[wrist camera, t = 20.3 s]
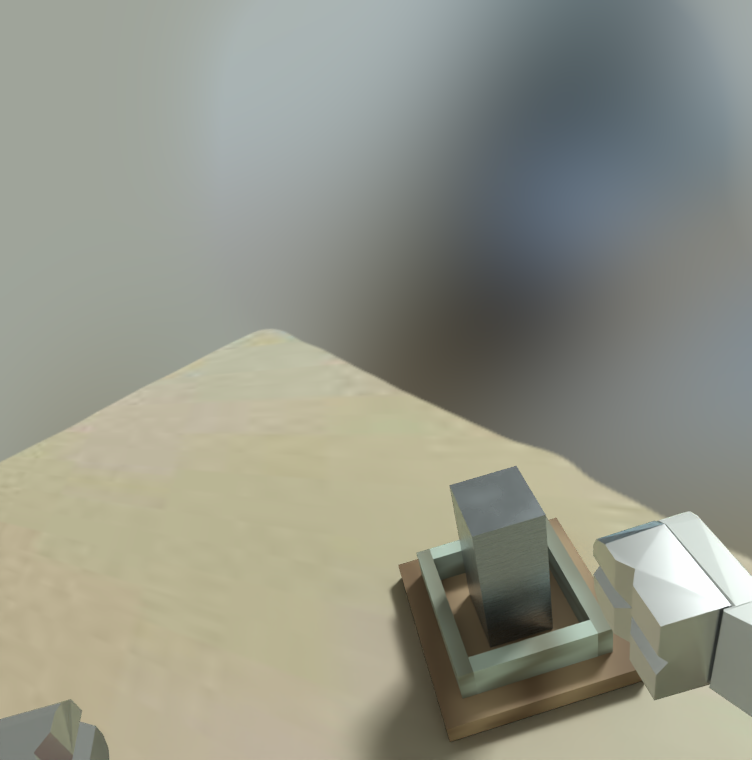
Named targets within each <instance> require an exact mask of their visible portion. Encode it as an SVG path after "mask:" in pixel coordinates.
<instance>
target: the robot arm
mask: <svg viewBox="0 0 752 760" xmlns="http://www.w3.org/2000/svg"><path fill="white" fill-rule="evenodd" d="M593 556H594V557H595V559H596V560H597V562H598V564H599V565H600V566H599V568H598V569H597V570H596V572H595V573H594V589H595V592H596V596H597V599H598V603H599V606H600V608H601V610H602V612H603V615H604V617H605V619H606V621H607V622H608V624H609V626H610V628H611V629H612V631H613V633H614V634H616V635H618V636H619V637H621V638H623V639H625V640H626V641H628V642H630V658H629V660H630V661H631V663H632V665H633V666H634V668H635V670H636V671H637V673H638V674H639V676H640V678H641V679H642V681H643V683H644V684H645V686H646V688H647V689H648V691H649V693H650V694H651V696H652V698H653V699H654V700H657V699H661V698H664V697H668V696H671V695H675V694H678V693H682V692H685V691H689V690H692V689H696V688H699V687H702V686H706V685H709V684H710V689H712V690H713V691H715V692H716V693H718V694H719V695H721V696H722V697H724V698H725V699H726V700H728V701H729V702H731V703H732V704H734V705H735V706H737V707H738V708H740V709H741V710H742V711H744V712H745V713H747V714H748V715H750V716H751V717H752V576H751V575H750V573H749V572H748V571H747V570H746V569H745V568H744V567H743V566H742V565H741V563H740V562H739V561H738V560H737V559H736V558H735V557H734V556H733V555H732V554H731V552H730V551H729V550H728V549H727V548H726V547H725V546H724V545H723V544H722V542H721V541H720V540H719V539H718V538H717V537H716V536H715V535H714V534H713V533H712V531H711V530H710V529H709V528H708V527H707V526H706V525H705V524H704V523H703V521H702V520H701V519H700V518H699V517H698V516H697V515H695V514H693V513H691V512H684V513H680V514H677V515H674V516H671V517H668V518H665V519H662V520H659V521H652V522H649V523H646V524H642V525H639V526H636V527H633V528H630V529H627V530H624V531H621V532H617V533H614V534H611V535H608V536H605V537H602V538H599V539H596V541H595V543H594V545H593ZM81 713H82V710H81V709H80V708H79V707H78V706H77V705H76V704H75V703H74V702H73V701H72V700H71V699H70V700H66V701H63V702H59V703H56V704H52V705H49V706H45V707H42V708H38V709H34V710H31V711H27V712H24V713H20V714H17V715H13V716H10V717H6V718H3V719H0V760H109V750H108V746H107V744H106V741H105V739H104V736H103V734H102V733H101V732H100V731H99V729H98V728H97V727H96V726H93V725H90V724H86V723H83V722H80V718H81Z"/></svg>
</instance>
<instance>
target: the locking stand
mask: <svg viewBox="0 0 752 760" xmlns="http://www.w3.org/2000/svg"><path fill="white" fill-rule="evenodd" d="M546 529H547V544H548V559H549V574H550V589H551V604H552V619H553V629H550V630H547V631H543V632H540V633H537V634H534V635H530V636H527V637H524V638H521V639H518V640H514V641H511V642H508V643H505V644H501V645H498V646H495V647H492V648H490V645H489V643H488V640H487V638H486V635H485V633H484V630H483V628H482V625H481V622H480V620H479V617H478V615H477V612H476V610H475V607H474V605H473V602H472V600H471V597H470V595H469V589H468V584H467V578H466V573H465V567H464V562H463V556H462V551H461V545H460V540H458V541H454V542H451V543H448V544H444V545H441V546H438V547H434V548H431V549H428V550H424V551H421V552H418V553H417V557H418V559H417V560H413V561H410V562H407V563H403V564H400V565H399V569H400V573H401V576H402V580H403V583H404V587H405V590H406V594H407V597H408V600H409V604H410V607H411V611H412V614H413V617H414V621H415V624H416V628H417V631H418V635H419V638H420V641H421V645H422V648H423V652H424V655H425V658H426V662H427V665H428V669H429V672H430V675H431V679H432V682H433V686H434V689H435V693H436V696H437V699H438V703H439V706H440V710H441V713H442V716H443V720H444V723H445V727H446V730H447V734H448V737H449V740H450V742H451V741H454V740H457V739H461V738H464V737H467V736H470V735H473V734H476V733H480V732H483V731H486V730H489V729H492V728H495V727H498V726H502V725H505V724H508V723H511V722H514V721H517V720H520V719H524V718H527V717H530V716H533V715H536V714H539V713H543V712H546V711H549V710H552V709H555V708H558V707H561V706H565V705H568V704H571V703H574V702H577V701H580V700H583V699H587V698H590V697H593V696H596V695H599V694H602V693H606V692H609V691H612V690H615V689H618V688H621V687H624V686H628V685H631V684H634V683H637V682H640V681H642V679H641V678H640V676H639V674H638V673H637V671H636V670H635V668H634V666H633V665H632V663H631V661H630V660H629V658H630V642H628V641H626V640H625V639H623V638H621V637H619V636H618V635H616V634H614V633H613V631H612V629H611V628H610V626H609V624H608V622H607V621H606V619H605V617H604V615H603V612H602V610H601V608H600V606H599V603H598V599H597V596H596V592H595V589H594V578H593V576H592V575H591V573H590V571H589V570H588V568H587V566H586V565H585V563H584V562H583V560H582V558H581V557H580V555H579V554H578V552H577V550H576V549H575V547H574V545H573V544H572V542H571V541H570V539H569V537H568V536H567V534H566V533H565V531H564V529H563V528H562V526H561V524H560V523H559V521H558V520H557V518H554V519H550V520H548V519H547V517H546Z"/></svg>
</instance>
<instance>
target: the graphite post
mask: <svg viewBox="0 0 752 760" xmlns="http://www.w3.org/2000/svg"><path fill="white" fill-rule="evenodd" d="M450 491H451V496H452V502H453V507H454V513H455V518H456V524H457V529H458V535H459V540H460V545H461V551H462V556H463V562H464V567H465V573H466V578H467V584H468V589H469V595H470V597H471V600H472V602H473V605H474V607H475V610H476V612H477V615H478V617H479V620H480V622H481V625H482V628H483V630H484V633H485V635H486V638H487V640H488V643H489V645H490V648H492V647H495V646H498V645H501V644H505V643H508V642H511V641H514V640H518V639H521V638H524V637H527V636H530V635H534V634H537V633H540V632H543V631H547V630H550V629H553V619H552V604H551V589H550V574H549V559H548V544H547V529H546V515H545V513H544V511H543V510H542V508H541V506H540V505H539V503H538V501H537V500H536V498H535V496H534V495H533V493H532V491H531V490H530V488H529V486H528V485H527V483H526V481H525V480H524V478H523V476H522V475H521V473H520V471H519V470H518V468H517V466H514V467H511V468H507V469H504V470H501V471H497V472H494V473H490V474H487V475H484V476H480V477H477V478H473V479H470V480H466V481H463V482H460V483H456V484H453V485H450Z"/></svg>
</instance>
